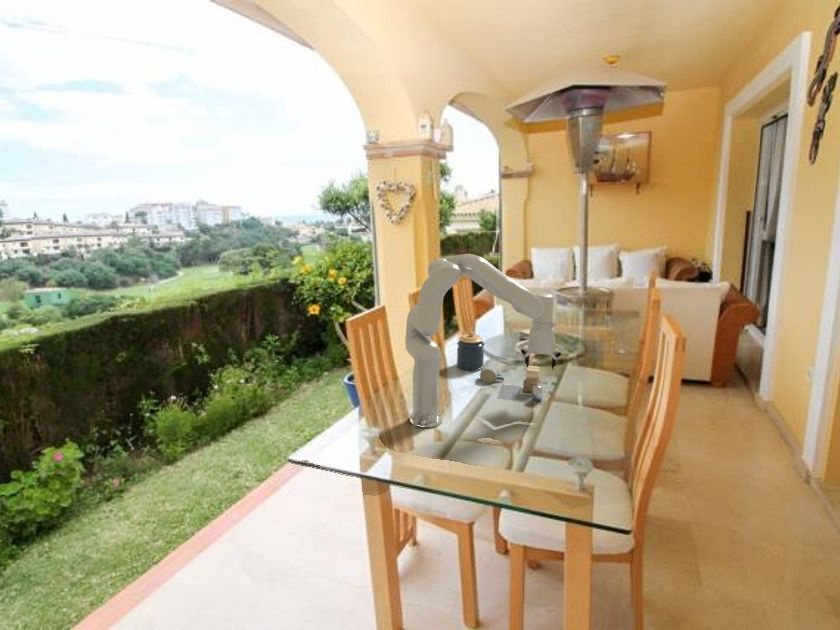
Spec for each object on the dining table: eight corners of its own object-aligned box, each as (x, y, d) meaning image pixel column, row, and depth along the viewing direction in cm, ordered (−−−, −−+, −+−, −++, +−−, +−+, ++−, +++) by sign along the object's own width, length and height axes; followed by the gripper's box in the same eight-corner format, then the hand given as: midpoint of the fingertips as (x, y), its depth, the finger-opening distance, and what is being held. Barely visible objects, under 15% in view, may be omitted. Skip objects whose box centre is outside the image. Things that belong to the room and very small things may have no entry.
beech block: (538, 384, 201) (538, 371, 199) (525, 383, 202) (526, 369, 201) (538, 380, 205) (539, 366, 204) (526, 378, 207) (527, 365, 205)
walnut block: (539, 394, 201) (540, 385, 200) (522, 392, 203) (523, 383, 202) (541, 388, 207) (541, 379, 206) (524, 386, 209) (524, 377, 208)
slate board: (542, 406, 193) (542, 403, 192) (496, 400, 198) (497, 398, 197) (544, 388, 209) (544, 386, 209) (502, 383, 214) (502, 381, 214)
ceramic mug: (479, 383, 215) (480, 367, 213) (481, 376, 222) (482, 361, 220) (503, 386, 212) (504, 370, 210) (505, 379, 220) (506, 363, 218)
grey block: (541, 402, 193) (542, 388, 192) (531, 401, 195) (532, 387, 193) (542, 398, 197) (543, 384, 196) (532, 397, 198) (533, 383, 197)
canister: (483, 372, 228) (484, 336, 223) (455, 370, 230) (456, 335, 225) (483, 362, 240) (485, 328, 236) (457, 361, 242) (458, 327, 238)
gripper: (565, 324, 189) (562, 365, 193) (520, 321, 194) (518, 361, 198) (565, 329, 182) (562, 372, 186) (518, 326, 187) (516, 368, 191)
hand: (540, 366), depth 192 cm, fingers open, 9 cm apart
